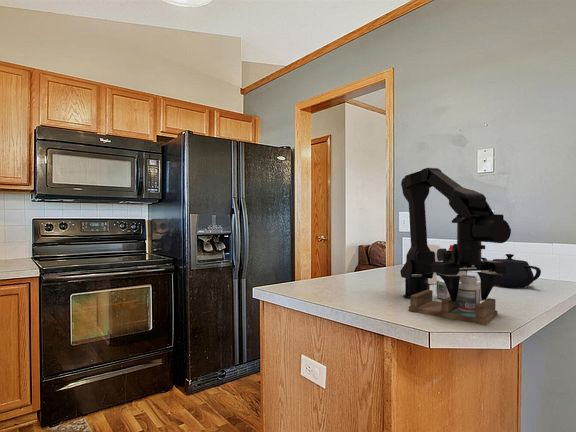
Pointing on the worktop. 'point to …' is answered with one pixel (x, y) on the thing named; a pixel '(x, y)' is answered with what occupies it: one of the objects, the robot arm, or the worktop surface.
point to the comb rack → (452, 308)
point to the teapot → (516, 273)
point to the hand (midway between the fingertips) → (468, 300)
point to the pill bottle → (468, 294)
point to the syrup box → (443, 291)
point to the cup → (435, 248)
